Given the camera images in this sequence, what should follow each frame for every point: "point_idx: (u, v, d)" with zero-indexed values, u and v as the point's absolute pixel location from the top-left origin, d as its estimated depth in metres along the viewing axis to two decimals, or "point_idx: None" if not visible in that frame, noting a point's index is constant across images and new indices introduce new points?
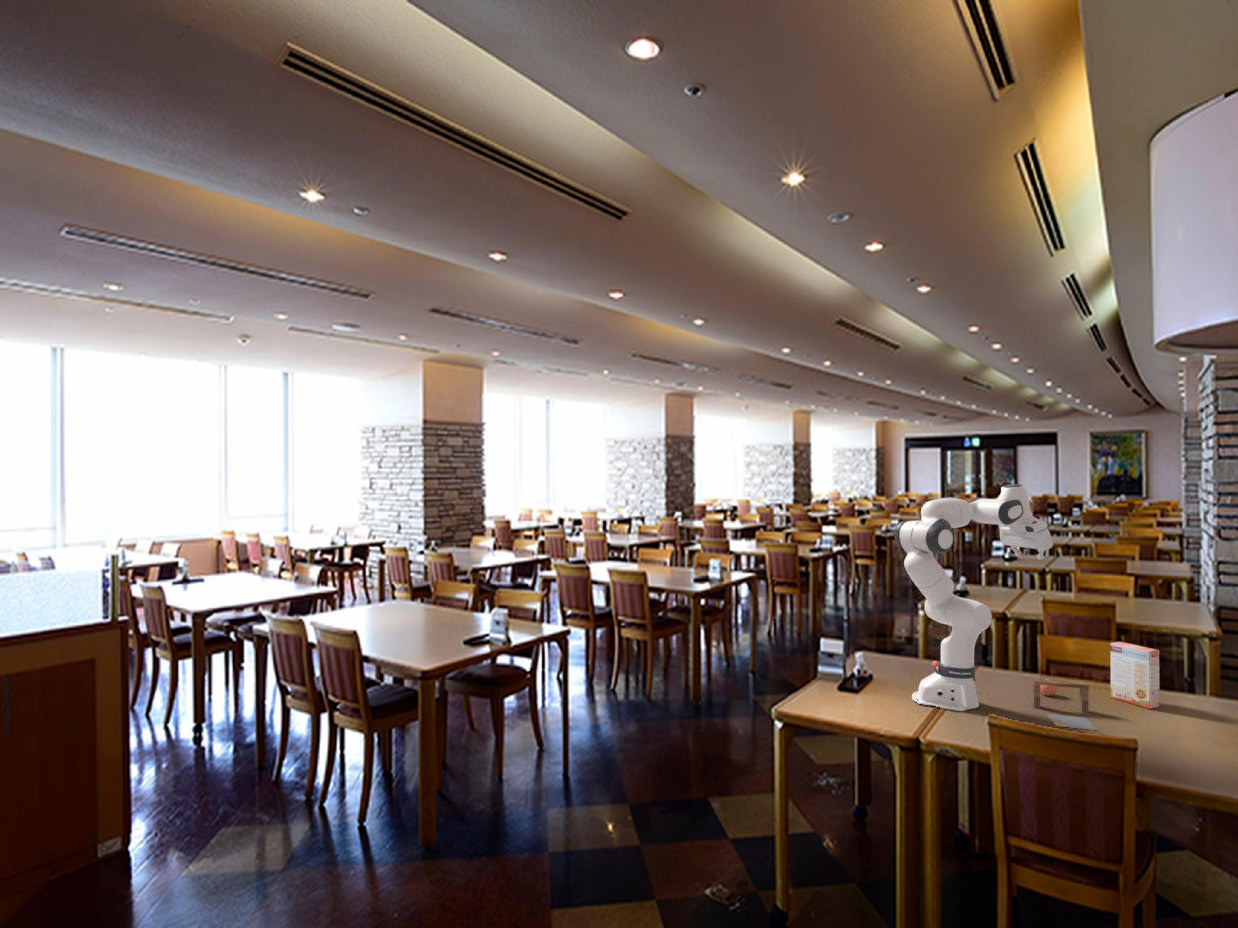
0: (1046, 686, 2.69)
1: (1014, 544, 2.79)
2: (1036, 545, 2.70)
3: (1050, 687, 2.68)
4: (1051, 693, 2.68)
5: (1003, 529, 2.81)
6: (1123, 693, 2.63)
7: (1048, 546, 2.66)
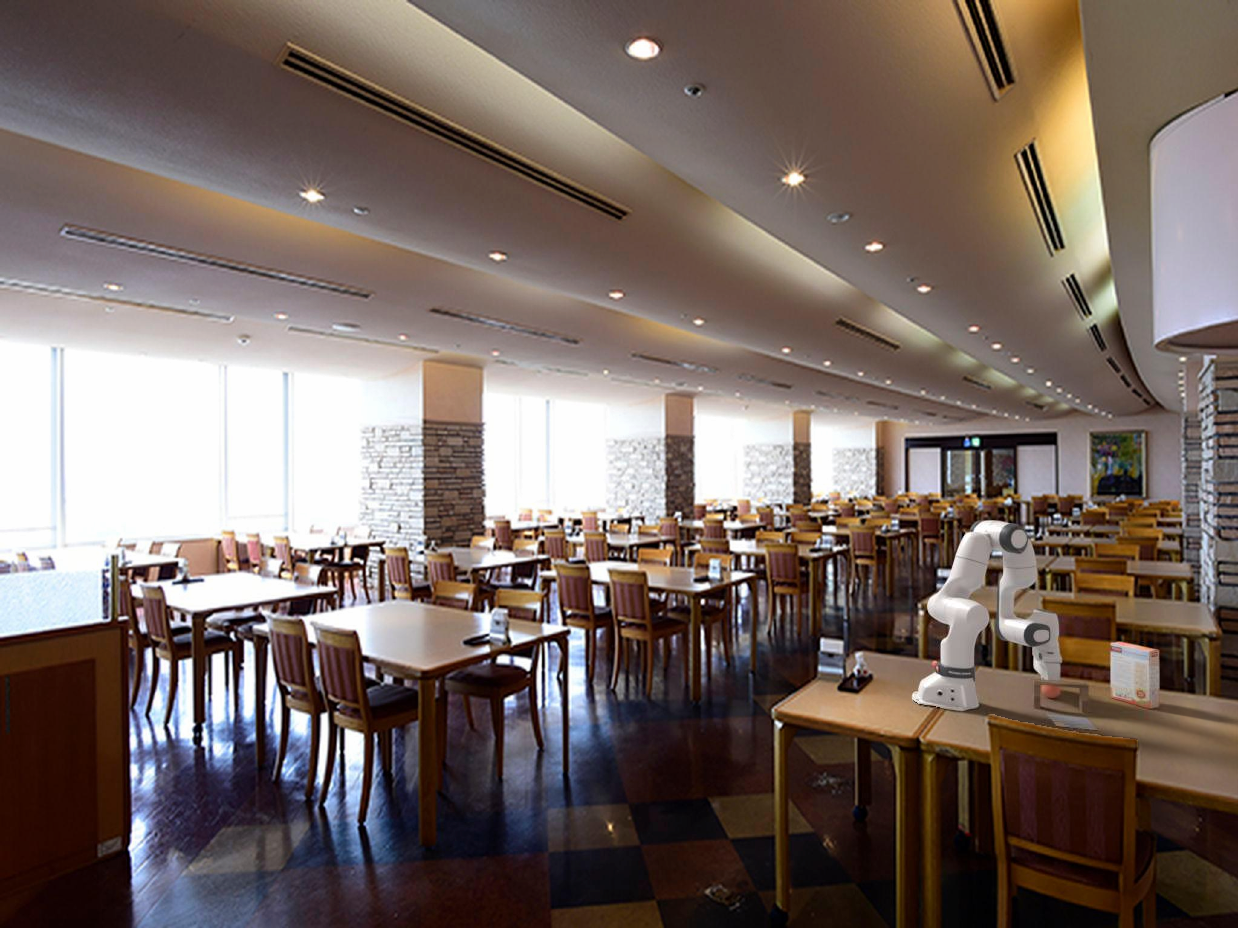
0: (1048, 693, 2.66)
1: (1037, 670, 2.77)
2: (1045, 675, 2.67)
3: (1052, 694, 2.66)
4: (1052, 697, 2.67)
5: None
6: (1123, 693, 2.63)
7: None
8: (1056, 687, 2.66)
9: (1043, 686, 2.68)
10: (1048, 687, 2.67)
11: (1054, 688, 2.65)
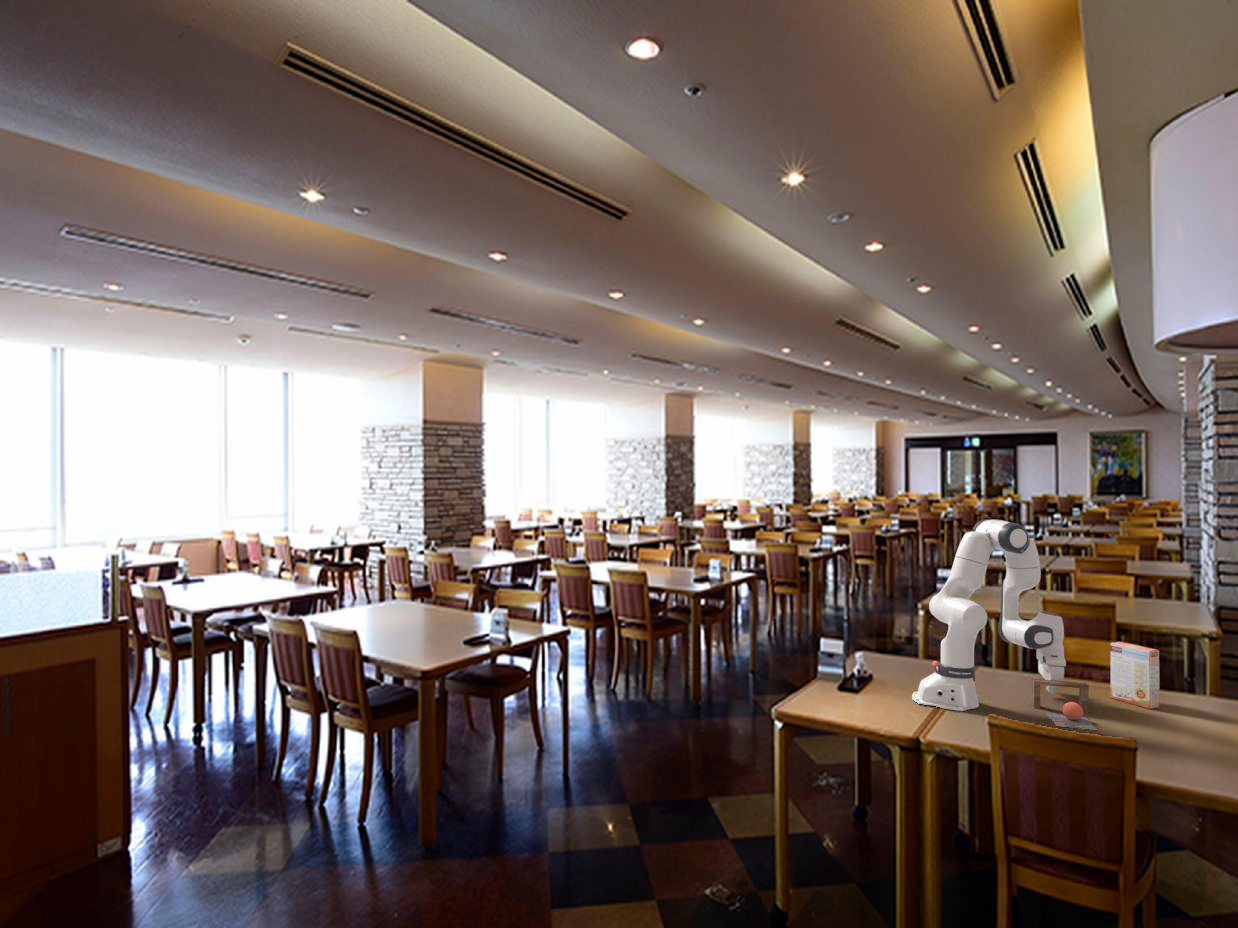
0: None
1: (1042, 673, 2.72)
2: (1048, 679, 2.63)
3: None
4: None
5: None
6: (1123, 693, 2.63)
7: None
8: (1078, 719, 2.43)
9: (1065, 713, 2.45)
10: (1069, 718, 2.44)
11: None
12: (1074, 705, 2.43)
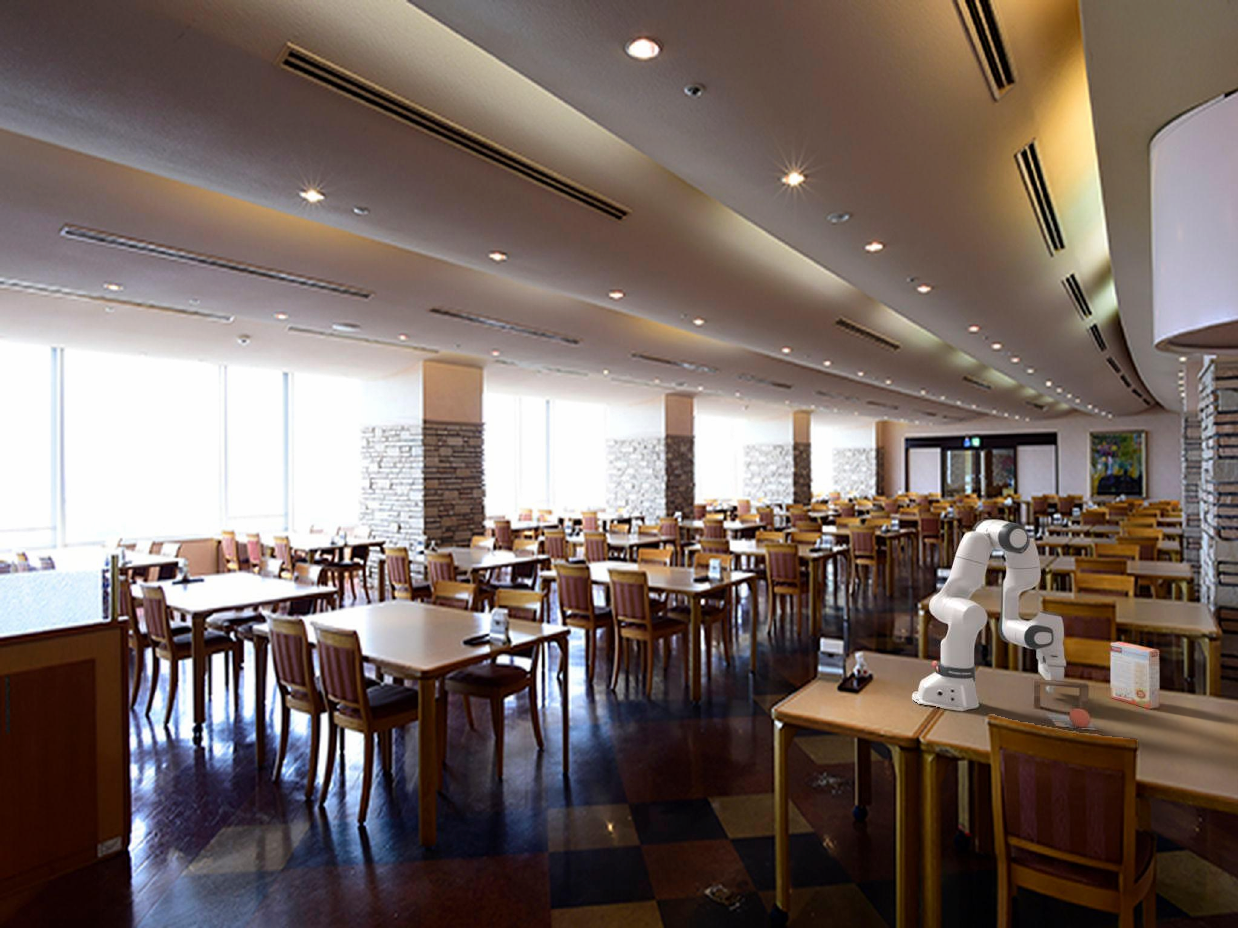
0: None
1: (1042, 673, 2.72)
2: (1048, 679, 2.63)
3: None
4: (1081, 710, 2.37)
5: None
6: (1123, 693, 2.63)
7: None
8: None
9: None
10: None
11: None
12: (1080, 727, 2.38)
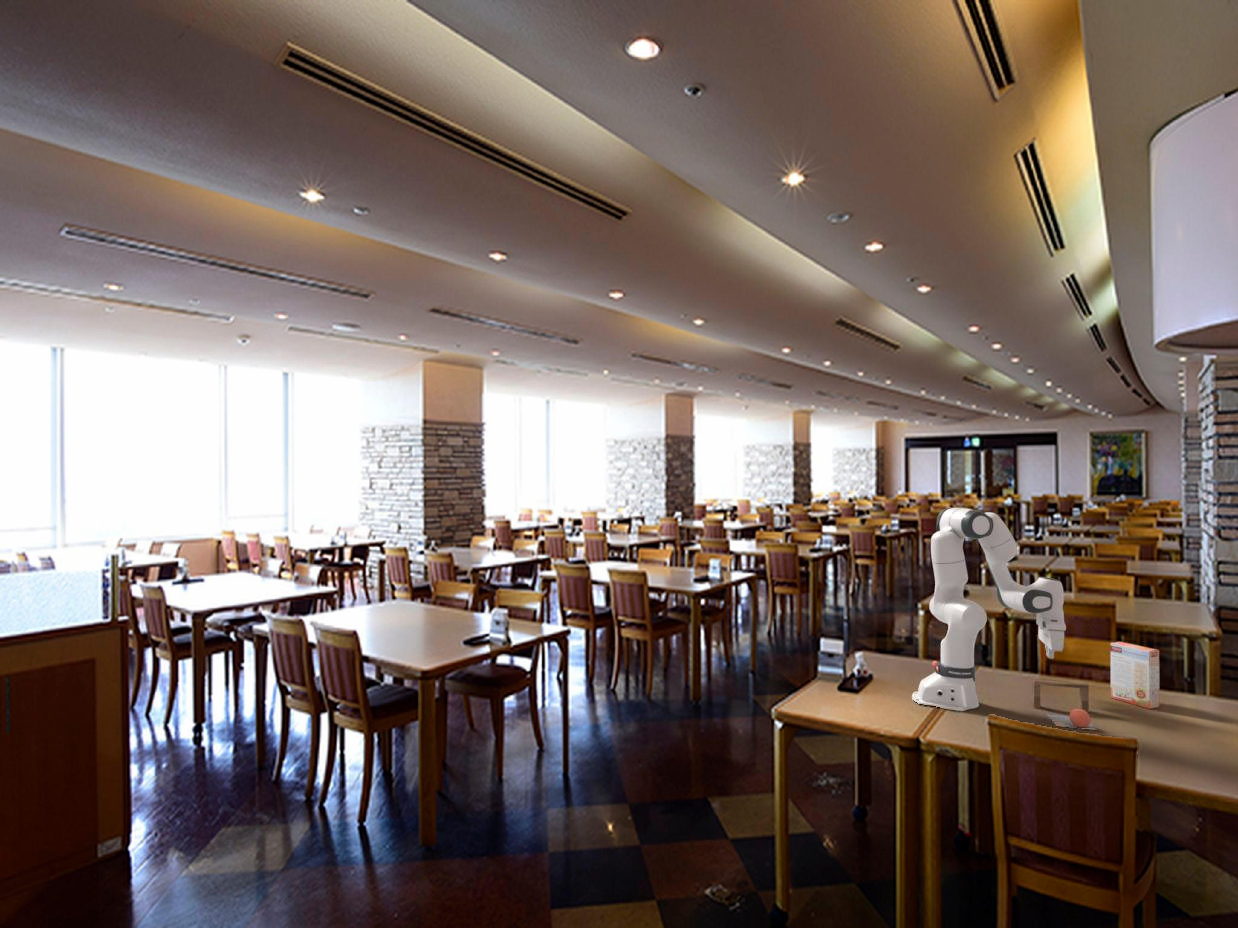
0: None
1: (1042, 639, 2.72)
2: (1048, 643, 2.63)
3: None
4: (1081, 710, 2.37)
5: None
6: (1123, 693, 2.63)
7: (1055, 648, 2.59)
8: None
9: None
10: None
11: None
12: (1080, 727, 2.38)
